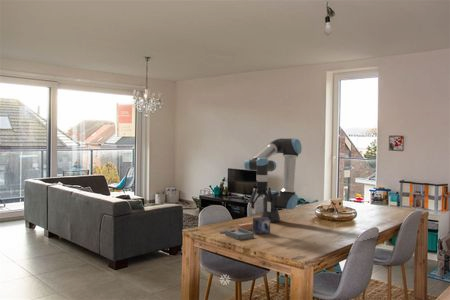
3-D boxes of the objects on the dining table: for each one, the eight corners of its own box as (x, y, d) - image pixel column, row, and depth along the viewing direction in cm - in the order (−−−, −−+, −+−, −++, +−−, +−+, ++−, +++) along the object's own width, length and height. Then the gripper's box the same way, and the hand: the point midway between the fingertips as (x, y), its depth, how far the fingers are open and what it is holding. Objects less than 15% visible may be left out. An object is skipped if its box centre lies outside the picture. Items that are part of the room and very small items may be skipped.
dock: (234, 230, 270) (234, 226, 270) (253, 237, 253) (253, 232, 253) (219, 233, 263) (219, 228, 263) (239, 240, 246) (239, 235, 246)
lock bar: (252, 228, 277) (252, 222, 277) (254, 228, 275) (254, 223, 275) (237, 230, 270) (237, 224, 269) (240, 231, 267) (240, 225, 267)
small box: (255, 235, 259) (255, 219, 258) (252, 232, 265) (252, 217, 265) (270, 234, 261) (270, 218, 261) (266, 231, 268) (267, 216, 267)
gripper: (271, 179, 272) (271, 209, 273) (244, 181, 258) (243, 213, 258) (279, 180, 266) (278, 211, 267) (251, 182, 252) (250, 215, 252)
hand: (261, 212), depth 262 cm, fingers open, 13 cm apart
